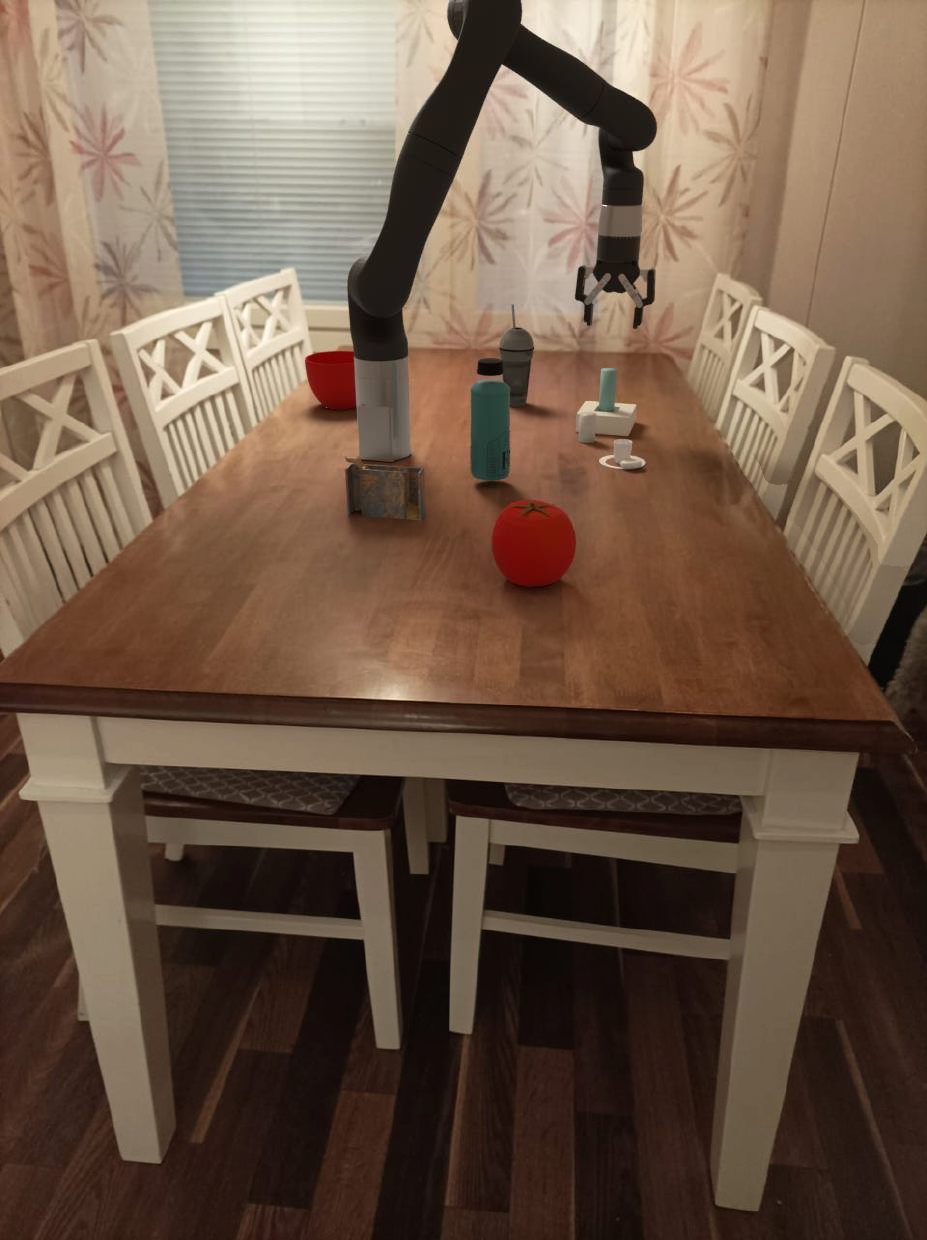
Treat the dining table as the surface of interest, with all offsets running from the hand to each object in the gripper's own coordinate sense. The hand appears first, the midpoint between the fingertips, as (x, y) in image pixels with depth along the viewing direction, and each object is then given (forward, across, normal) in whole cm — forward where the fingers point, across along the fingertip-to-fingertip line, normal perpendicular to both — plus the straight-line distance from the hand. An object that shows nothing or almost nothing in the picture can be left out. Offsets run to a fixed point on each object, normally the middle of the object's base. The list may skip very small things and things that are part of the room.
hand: (612, 326), depth 177 cm
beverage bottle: (+19, -13, -38) cm, 44 cm away
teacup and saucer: (+20, +5, -24) cm, 31 cm away
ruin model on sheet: (+20, -24, -56) cm, 64 cm away
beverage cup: (+19, -21, +12) cm, 31 cm away
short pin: (+19, -2, -10) cm, 22 cm away
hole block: (+19, 0, 0) cm, 19 cm away
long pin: (+19, 0, 0) cm, 19 cm away
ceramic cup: (+20, -54, +1) cm, 57 cm away
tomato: (+20, +2, -73) cm, 76 cm away
